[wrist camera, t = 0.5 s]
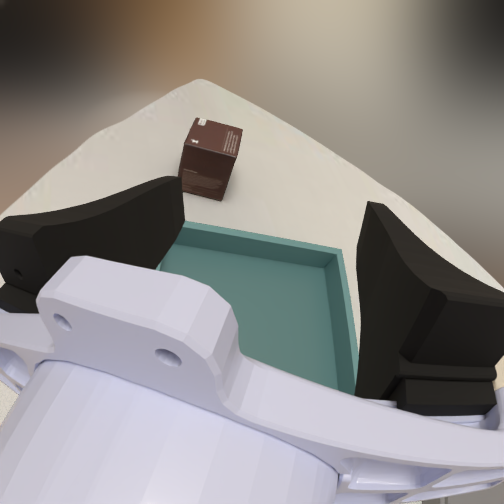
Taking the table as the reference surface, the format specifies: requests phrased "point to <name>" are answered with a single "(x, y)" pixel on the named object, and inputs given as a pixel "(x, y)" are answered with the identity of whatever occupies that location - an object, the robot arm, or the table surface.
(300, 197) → the table surface
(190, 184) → the box
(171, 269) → the teal bin
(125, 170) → the table surface
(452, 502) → the grey bin lid
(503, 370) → the clear safety goggles
